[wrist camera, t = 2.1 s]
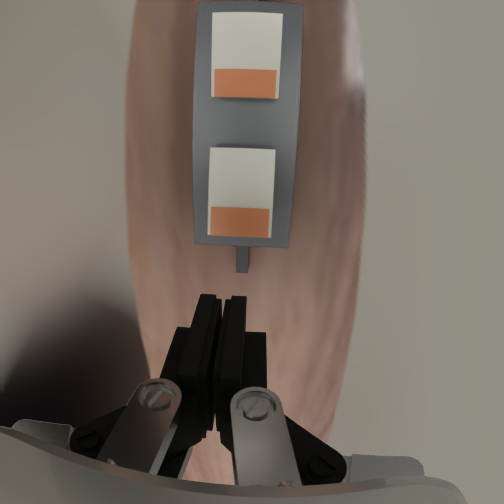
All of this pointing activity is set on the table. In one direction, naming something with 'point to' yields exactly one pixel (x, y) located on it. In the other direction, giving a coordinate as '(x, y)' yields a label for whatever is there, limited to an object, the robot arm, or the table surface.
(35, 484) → the robot arm
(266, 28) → the rocker
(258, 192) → the plate
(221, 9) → the rocker switch panel
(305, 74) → the table surface
